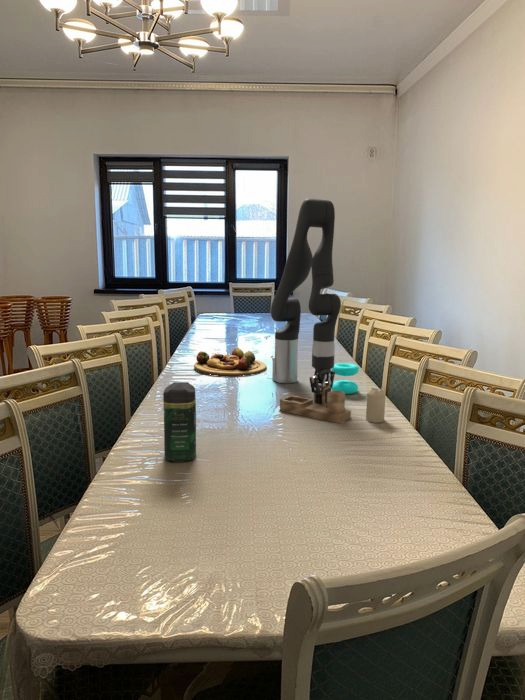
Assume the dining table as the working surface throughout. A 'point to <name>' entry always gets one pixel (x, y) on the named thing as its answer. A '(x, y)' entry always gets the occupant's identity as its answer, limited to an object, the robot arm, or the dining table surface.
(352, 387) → the donuts
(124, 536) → the dining table surface
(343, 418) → the rail
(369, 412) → the candle
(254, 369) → the wooden plate with food
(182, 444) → the coffee jar
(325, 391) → the brown wooden block
